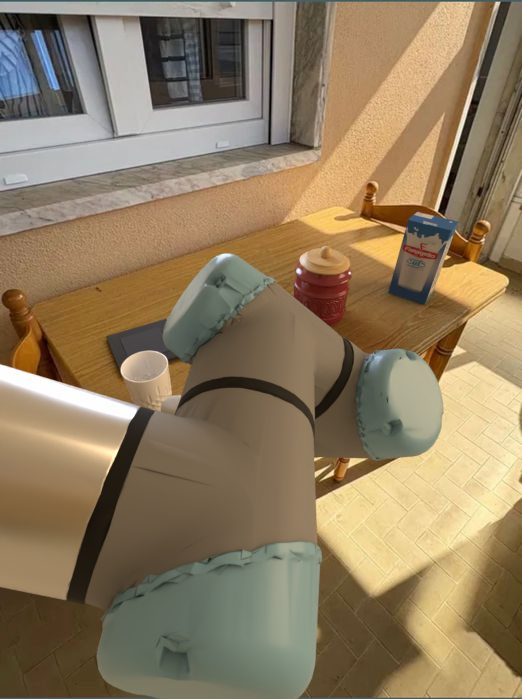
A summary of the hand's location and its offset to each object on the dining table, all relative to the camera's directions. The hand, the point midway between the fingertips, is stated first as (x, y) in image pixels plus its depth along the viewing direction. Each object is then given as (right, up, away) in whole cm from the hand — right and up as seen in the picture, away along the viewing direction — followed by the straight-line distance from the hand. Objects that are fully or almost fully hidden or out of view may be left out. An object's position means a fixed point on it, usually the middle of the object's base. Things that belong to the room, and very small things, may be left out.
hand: (195, 430), depth 55 cm
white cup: (-10, +1, +17) cm, 20 cm away
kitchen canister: (+24, +21, +40) cm, 51 cm away
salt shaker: (-3, -6, +9) cm, 11 cm away
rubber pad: (-16, +12, +29) cm, 35 cm away
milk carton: (+49, +26, +47) cm, 73 cm away
